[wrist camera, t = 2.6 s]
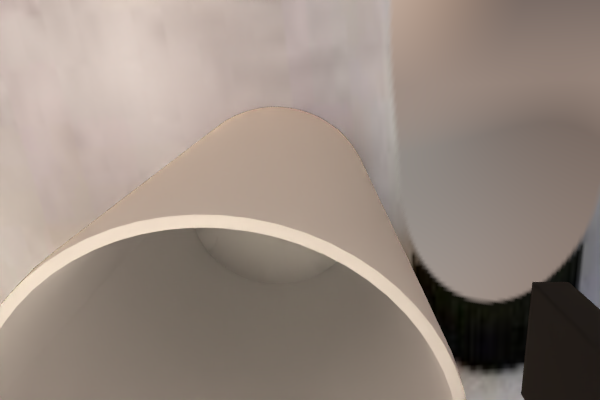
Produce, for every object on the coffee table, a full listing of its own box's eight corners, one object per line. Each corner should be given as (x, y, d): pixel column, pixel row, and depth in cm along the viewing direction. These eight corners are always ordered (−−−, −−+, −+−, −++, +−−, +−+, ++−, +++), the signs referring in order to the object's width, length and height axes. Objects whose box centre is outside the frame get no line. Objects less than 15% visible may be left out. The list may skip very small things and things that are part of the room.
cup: (350, 298, 25) (413, 682, 10) (175, 270, 25) (-43, 618, 10) (386, 123, 23) (537, 260, 8) (195, 92, 23) (-46, 168, 7)
